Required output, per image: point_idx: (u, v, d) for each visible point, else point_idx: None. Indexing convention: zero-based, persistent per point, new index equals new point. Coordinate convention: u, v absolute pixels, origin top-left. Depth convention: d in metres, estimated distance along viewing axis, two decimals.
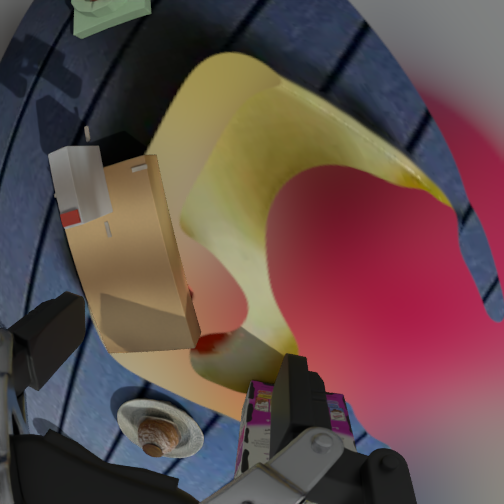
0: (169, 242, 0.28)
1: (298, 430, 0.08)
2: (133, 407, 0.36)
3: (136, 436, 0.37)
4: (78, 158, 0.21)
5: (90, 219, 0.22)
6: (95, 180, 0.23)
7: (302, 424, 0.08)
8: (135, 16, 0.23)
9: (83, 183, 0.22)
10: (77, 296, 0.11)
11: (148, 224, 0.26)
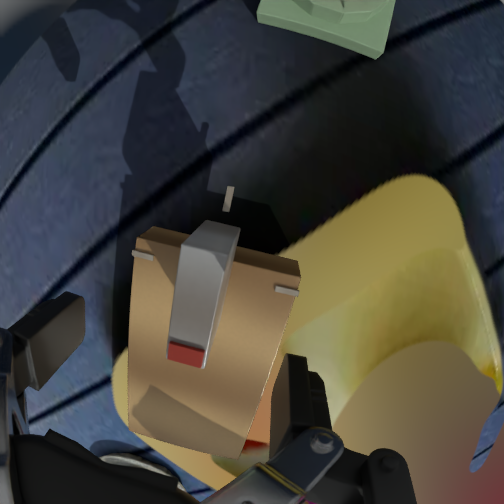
0: None
1: (298, 430, 0.08)
2: (122, 460, 0.29)
3: None
4: (227, 268, 0.15)
5: (208, 355, 0.16)
6: (225, 289, 0.17)
7: (302, 424, 0.08)
8: (355, 49, 0.17)
9: (219, 306, 0.15)
10: (77, 296, 0.11)
11: (260, 353, 0.20)
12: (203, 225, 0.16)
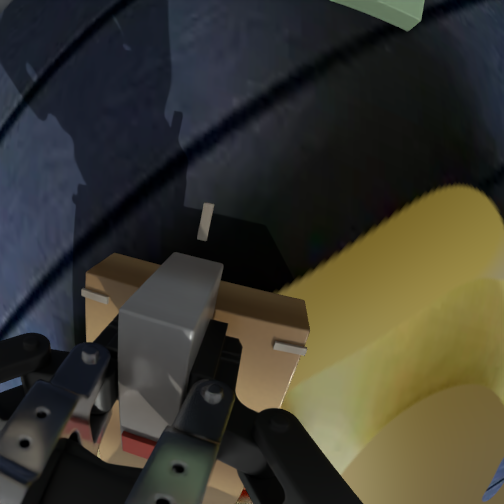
0: None
1: None
2: None
3: None
4: (198, 338, 0.09)
5: None
6: None
7: (201, 376, 0.09)
8: (382, 16, 0.11)
9: None
10: None
11: None
12: (167, 263, 0.11)
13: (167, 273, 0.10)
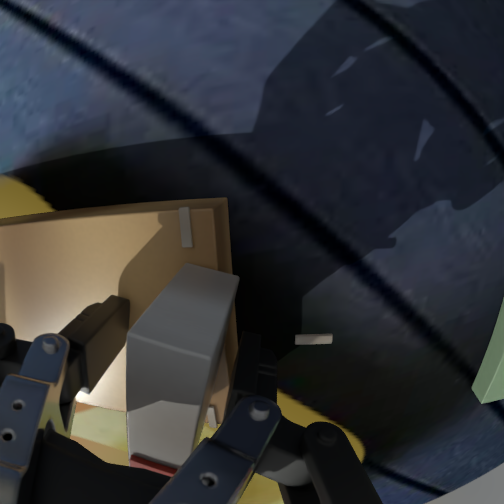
0: None
1: (240, 398, 0.08)
2: None
3: None
4: (214, 361, 0.08)
5: None
6: (215, 373, 0.11)
7: (244, 392, 0.08)
8: (481, 373, 0.15)
9: (203, 412, 0.09)
10: (124, 299, 0.12)
11: (119, 398, 0.14)
12: (178, 276, 0.10)
13: (179, 288, 0.09)
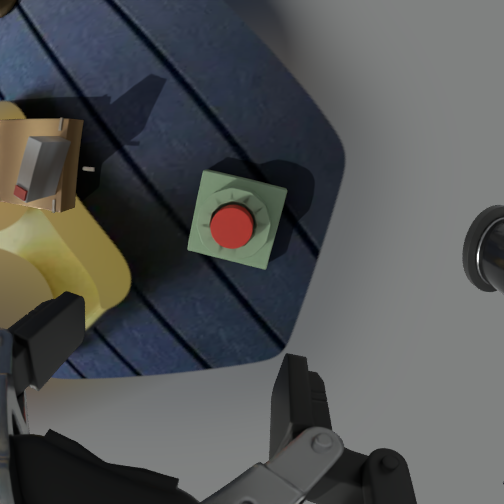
0: None
1: (298, 430, 0.08)
2: None
3: None
4: (46, 152, 0.24)
5: (33, 200, 0.26)
6: (52, 170, 0.27)
7: (302, 424, 0.08)
8: None
9: (40, 172, 0.25)
10: (77, 296, 0.11)
11: None
12: (51, 136, 0.26)
13: (49, 137, 0.25)
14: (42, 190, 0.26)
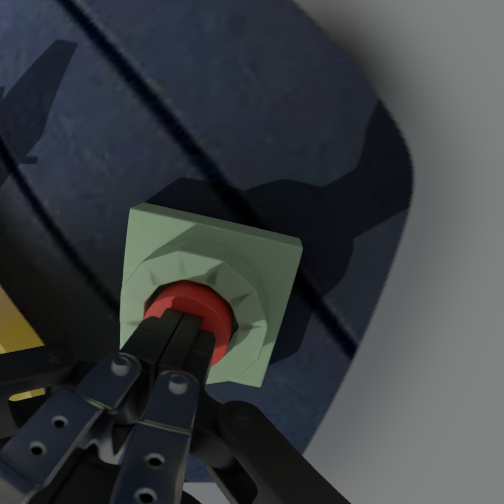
0: None
1: None
2: None
3: None
4: None
5: None
6: None
7: (169, 367, 0.09)
8: None
9: None
10: (181, 312, 0.12)
11: None
12: None
13: None
14: None
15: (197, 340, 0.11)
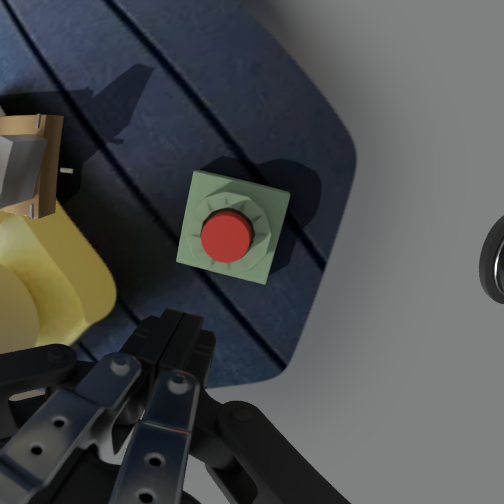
0: None
1: None
2: None
3: None
4: (19, 153, 0.20)
5: (6, 205, 0.22)
6: (27, 172, 0.23)
7: (169, 367, 0.09)
8: None
9: (13, 175, 0.21)
10: (181, 312, 0.12)
11: None
12: (27, 134, 0.22)
13: (23, 135, 0.21)
14: (16, 195, 0.23)
15: (197, 340, 0.11)
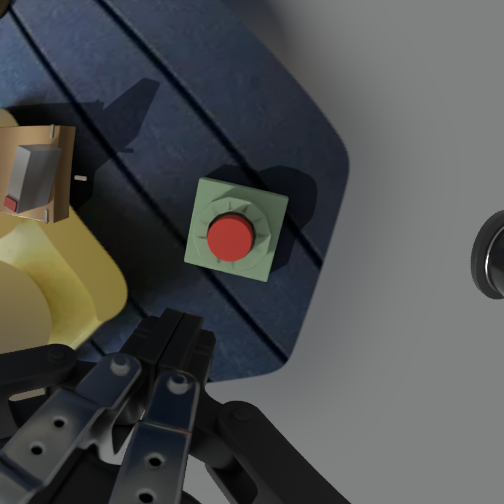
0: None
1: None
2: None
3: None
4: (36, 162, 0.23)
5: (24, 211, 0.24)
6: (43, 179, 0.25)
7: (169, 367, 0.09)
8: None
9: (31, 182, 0.24)
10: (181, 312, 0.12)
11: None
12: (42, 144, 0.25)
13: (39, 145, 0.24)
14: (33, 200, 0.25)
15: (197, 340, 0.11)
